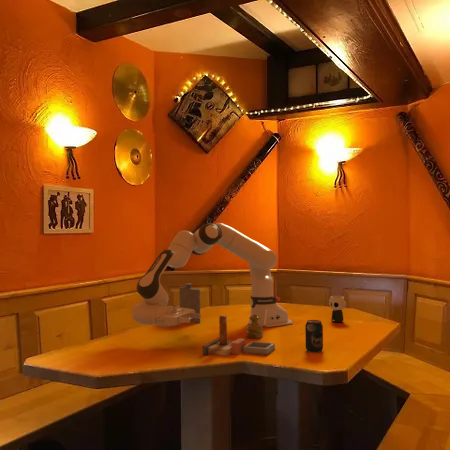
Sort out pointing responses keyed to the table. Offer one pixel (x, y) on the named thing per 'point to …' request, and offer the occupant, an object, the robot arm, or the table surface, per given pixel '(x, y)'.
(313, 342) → the soda can
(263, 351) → the tray
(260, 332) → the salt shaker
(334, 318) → the bear figurine
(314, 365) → the table surface
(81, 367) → the table surface
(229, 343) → the bench plate
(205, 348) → the clamp bar
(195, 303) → the hip flask
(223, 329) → the dowel
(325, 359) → the table surface
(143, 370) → the table surface
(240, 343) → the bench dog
